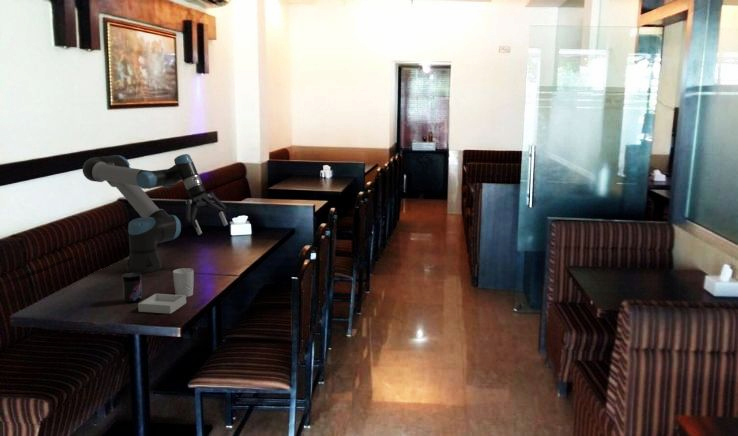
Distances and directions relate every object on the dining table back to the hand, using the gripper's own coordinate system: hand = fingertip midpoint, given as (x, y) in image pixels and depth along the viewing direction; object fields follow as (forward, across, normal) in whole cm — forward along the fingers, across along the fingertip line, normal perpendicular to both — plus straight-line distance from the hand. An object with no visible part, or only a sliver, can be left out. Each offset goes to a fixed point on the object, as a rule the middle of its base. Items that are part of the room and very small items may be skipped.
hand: (213, 229), depth 282 cm
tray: (+25, -45, -24) cm, 57 cm away
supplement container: (+18, -50, -11) cm, 54 cm away
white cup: (+23, -32, -16) cm, 43 cm away
